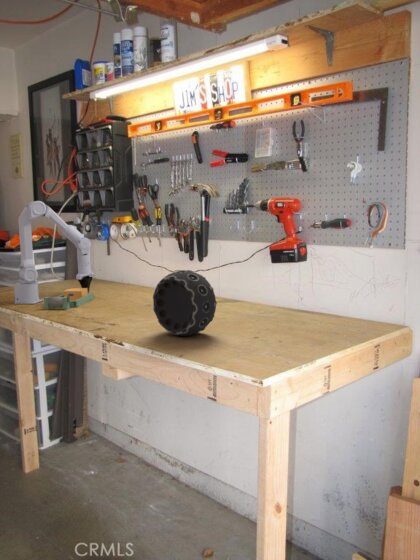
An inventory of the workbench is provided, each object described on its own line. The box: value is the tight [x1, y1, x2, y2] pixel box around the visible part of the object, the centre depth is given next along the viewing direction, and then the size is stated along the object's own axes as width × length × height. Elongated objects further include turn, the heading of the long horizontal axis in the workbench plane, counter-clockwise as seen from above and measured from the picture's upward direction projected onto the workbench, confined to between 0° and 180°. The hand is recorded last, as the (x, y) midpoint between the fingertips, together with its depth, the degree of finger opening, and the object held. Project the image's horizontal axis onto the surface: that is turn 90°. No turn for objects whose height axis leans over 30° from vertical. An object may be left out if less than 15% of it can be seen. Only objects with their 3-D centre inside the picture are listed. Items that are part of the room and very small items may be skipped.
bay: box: [43, 292, 95, 311], centre depth 215 cm, size 14×24×6 cm, turn 171°
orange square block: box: [63, 287, 89, 301], centre depth 223 cm, size 8×8×5 cm
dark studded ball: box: [152, 269, 218, 337], centre depth 157 cm, size 11×20×20 cm, turn 51°
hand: (86, 292), depth 234 cm, fingers closed
